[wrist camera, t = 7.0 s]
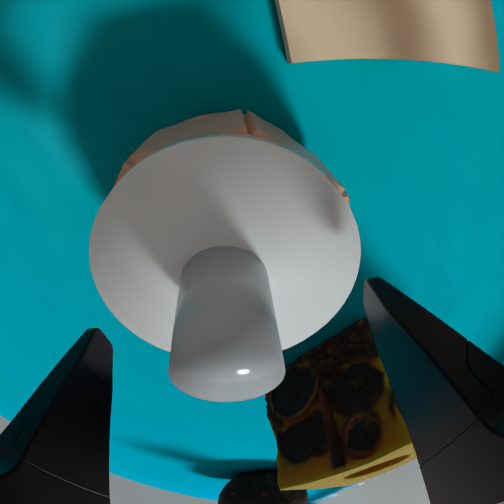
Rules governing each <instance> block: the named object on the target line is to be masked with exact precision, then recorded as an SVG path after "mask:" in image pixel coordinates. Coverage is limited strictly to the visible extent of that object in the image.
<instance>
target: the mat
mask: <svg viewBox="0 0 504 504" xmlns="http://www.w3.org/2000/svg"><path fill="white" fill-rule="evenodd" d="M275 4H276V9H277V13H278V18H279V22H280V27H281V32H282V37H283V41H284V46H285V52H286V57H287V62H288V63H299V62H309V61H321V60H338V59H403V60H418V61H430V62H439V63H448V64H455V65H462V66H468V67H474V68H479V69H485V70H489V71H494V72H499V73H500V67H499V53H498V43H497V35H496V27H495V21H494V15H493V9H492V4H491V0H275Z"/></svg>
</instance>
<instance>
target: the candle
mask: <svg viewBox="0 0 504 504" xmlns="http://www.w3.org/2000/svg"><path fill="white" fill-rule="evenodd" d="M265 395H266V398H265V400H266V402H267V403H268V405H267V406H266V407H267V417H268V419H269V421H270V424H271V427H272V430H273V432H274V435H275V438H276V440H277V449H278V454H277V459H276V462H277V468H278V480H277V482H278V485H279V489H280V490H303V489H320V488H332V487H341V486H348V485H351V484H354V483H357V482H360V481H363V480H366V479H369V478H372V477H375V476H377V475H380V474H382V473H385V472H387V471H390V470H392V469H394V468H397V467H399V466H401V465H403V464H405V463H408V462H410V461H412V460H414V459H416V458H417V456H416V453H415V450H414V447H413V444H412V441H411V438H410V435H409V432H408V429H407V426H406V424H405V421H404V418H403V415H402V413H401V410H400V407H399V404H398V402H397V399H396V396H395V394H394V391H393V389H392V386H391V384H390V381H389V378H388V376H387V373H386V371H385V369H384V366H383V364H382V361H381V359H380V356H379V354H378V351H377V348H376V345H375V341H374V338H373V335H372V331H371V328H370V324H369V321H367V320H360V321H358V322H357V323H355V324H353V325H352V326H350V327H349V328H347V329H346V330H344V331H343V332H341V333H340V334H338V335H336V336H335V337H333V338H331V339H329V340H327V341H326V342H324V343H323V344H321V345H319V346H318V347H316V348H314V349H313V350H311V351H309V352H307V353H306V354H305V355H303V356H302V357H301V358H299V359H297V360H296V361H295V363H294V364H292V365H290V366H288V367H286V368H285V376H284V378H283V380H282V382H281V383H280V384H279V385H278V386H277V387H276V388H274V389H273V390H271V391H270V392H268V393H266V394H265Z"/></svg>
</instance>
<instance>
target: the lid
mask: <svg viewBox="0 0 504 504" xmlns="http://www.w3.org/2000/svg"><path fill="white" fill-rule="evenodd" d="M360 256H361V247H360V236H359V232H358V227H357V223H356V221H355V218H354V216H353V213H352V211H351V209H350V207H349V205H348V204H347V202H346V201H345V199H344V197H343V196H342V194H341V193H340V192H339V190H338V189H337V188H336V187H335V185H334V184H333V183H332V182H331V180H330V179H329V178H328V177H327V176H326V175H325V174H324V173H323V171H322V170H321V169H320V168H319V167H318V166H316V165H315V164H314V163H313V162H312V161H310V160H309V159H308V158H307V157H305V156H304V155H302V154H300V153H299V152H297V151H295V150H294V149H292V148H290V147H288V146H286V145H284V144H281V143H279V142H276V141H273V140H271V139H268V138H264V137H260V136H256V135H251V134H245V133H233V132H217V133H204V134H199V135H194V136H189V137H185V138H182V139H179V140H176V141H173V142H171V143H168V144H165V145H164V146H162V147H160V148H158V149H156V150H154V151H152V152H151V153H149V154H147V155H146V156H145V157H143V158H142V159H141V160H139V161H138V162H137V163H135V164H134V165H133V166H132V167H131V168H130V169H129V170H128V171H127V172H126V173H125V174H124V175H123V176H122V177H121V179H120V180H119V181H118V182H117V184H116V185H115V186H114V188H113V189H112V190H111V191H110V193H109V194H108V196H107V197H106V199H105V200H104V202H103V203H102V205H101V207H100V209H99V211H98V213H97V216H96V218H95V220H94V223H93V227H92V231H91V235H90V245H89V258H90V267H91V272H92V276H93V280H94V282H95V285H96V287H97V290H98V292H99V294H100V296H101V297H102V299H103V301H104V302H105V304H106V306H107V307H108V308H109V309H110V311H111V312H112V313H113V315H114V316H115V317H116V318H117V319H118V320H119V321H120V322H121V323H122V324H123V325H124V326H125V327H127V328H128V329H129V330H130V331H132V332H133V333H134V334H136V335H137V336H139V337H140V338H142V339H143V340H145V341H147V342H148V343H150V344H152V345H154V346H156V347H158V348H161V349H163V350H166V351H168V352H170V361H169V371H168V373H169V377H170V380H171V381H172V383H173V384H174V385H175V386H176V387H177V388H178V389H180V390H181V391H183V392H184V393H186V394H188V395H191V396H193V397H196V398H199V399H203V400H208V401H216V402H236V401H244V400H249V399H253V398H256V397H259V396H262V395H264V394H266V393H268V392H270V391H271V390H273V389H274V388H276V387H277V386H278V385H279V384H280V383H281V382H282V380H283V378H284V376H285V364H284V359H283V353H282V350H285V349H287V348H289V347H292V346H294V345H296V344H298V343H300V342H301V341H303V340H305V339H307V338H308V337H310V336H311V335H313V334H314V333H316V332H317V331H318V330H319V329H321V328H322V327H323V326H324V325H326V324H327V323H328V322H329V321H330V320H331V319H332V318H333V317H334V316H335V314H336V313H337V312H338V311H339V309H340V308H341V307H342V306H343V304H344V303H345V301H346V299H347V298H348V296H349V294H350V293H351V290H352V288H353V286H354V283H355V281H356V278H357V274H358V270H359V266H360Z"/></svg>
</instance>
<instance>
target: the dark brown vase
mask: <svg viewBox="0 0 504 504" xmlns="http://www.w3.org/2000/svg"><path fill="white" fill-rule="evenodd" d="M277 480H278V471H259V472H252V473H246V474H242V475H239V476H237V477H235V478H233V479H232V480H231V481H229V482H228V483H227V484H226V485H225V487H224V488H223V489H222V491H221V493H220V495H219V499H218V504H307V503H308V493H307V490H306V489H303V490H280V489H279V485H278V482H277Z"/></svg>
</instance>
